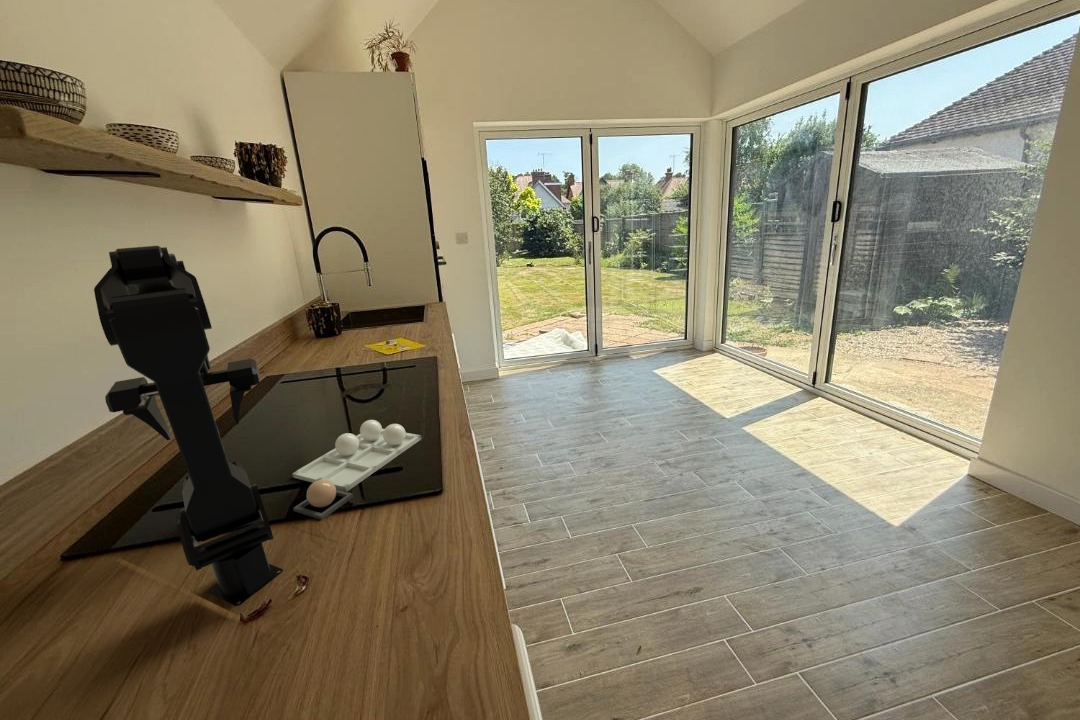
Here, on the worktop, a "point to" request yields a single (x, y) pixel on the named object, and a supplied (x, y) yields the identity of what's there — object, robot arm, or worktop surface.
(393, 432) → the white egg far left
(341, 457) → the egg tray
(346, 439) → the white egg mid
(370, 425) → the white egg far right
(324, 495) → the brown egg
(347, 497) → the gray rectangular frame
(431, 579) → the worktop surface
